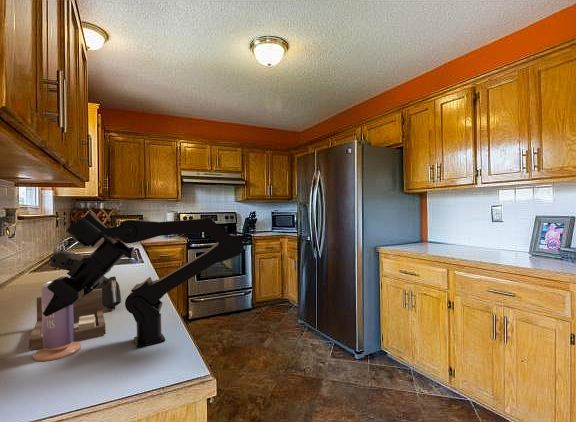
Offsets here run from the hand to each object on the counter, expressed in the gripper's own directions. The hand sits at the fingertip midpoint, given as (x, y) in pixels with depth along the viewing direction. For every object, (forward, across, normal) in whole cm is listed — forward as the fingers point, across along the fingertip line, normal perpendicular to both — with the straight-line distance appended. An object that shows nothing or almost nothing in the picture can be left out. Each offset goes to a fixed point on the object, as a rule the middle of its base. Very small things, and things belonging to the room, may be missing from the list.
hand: (51, 311), depth 73 cm
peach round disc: (+6, 0, +8) cm, 10 cm away
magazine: (+8, -44, +7) cm, 45 cm away
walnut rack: (+8, -14, +6) cm, 17 cm away
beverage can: (+5, 0, +7) cm, 9 cm away
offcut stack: (+5, -14, +9) cm, 17 cm away
